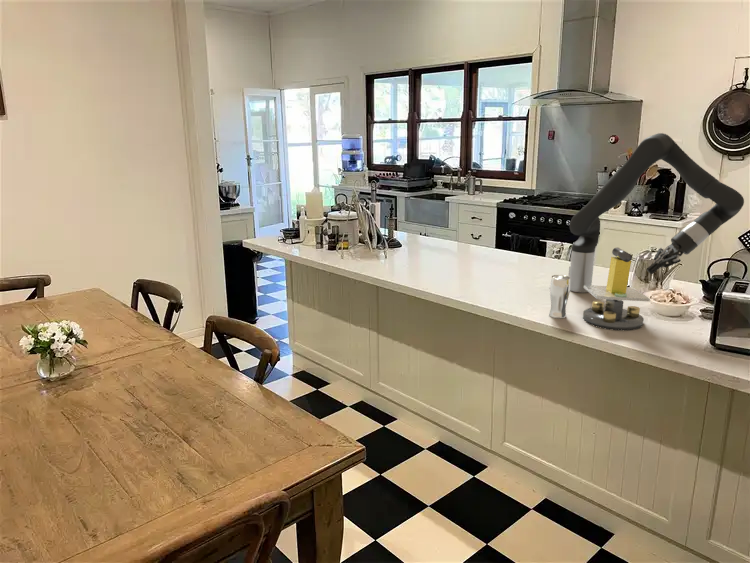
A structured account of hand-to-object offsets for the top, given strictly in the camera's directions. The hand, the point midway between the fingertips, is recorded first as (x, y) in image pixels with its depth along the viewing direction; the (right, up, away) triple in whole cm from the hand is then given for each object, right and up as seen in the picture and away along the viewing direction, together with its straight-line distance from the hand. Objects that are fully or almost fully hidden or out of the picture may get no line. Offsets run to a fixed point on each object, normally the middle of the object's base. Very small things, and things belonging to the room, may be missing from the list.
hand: (648, 272), depth 193 cm
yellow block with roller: (-11, -8, +3) cm, 14 cm away
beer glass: (-28, -16, +11) cm, 35 cm away
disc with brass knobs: (-10, -18, +5) cm, 21 cm away
